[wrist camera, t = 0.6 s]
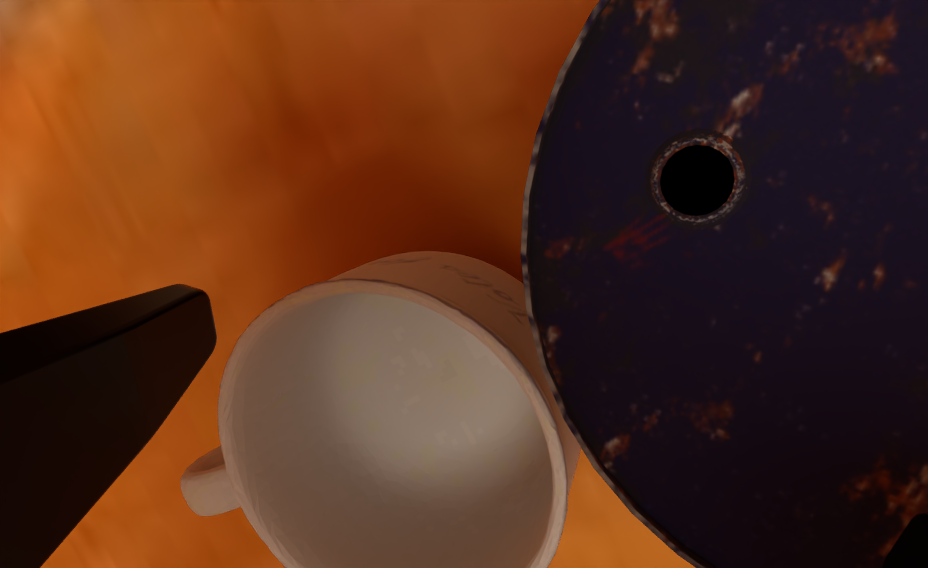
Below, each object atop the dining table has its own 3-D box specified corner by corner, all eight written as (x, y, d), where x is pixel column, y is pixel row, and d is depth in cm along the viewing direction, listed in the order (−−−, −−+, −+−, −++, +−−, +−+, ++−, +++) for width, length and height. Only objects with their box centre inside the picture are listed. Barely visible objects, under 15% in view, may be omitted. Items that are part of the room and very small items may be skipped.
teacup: (588, 219, 23) (529, 259, 16) (625, 509, 25) (588, 666, 18) (258, 259, 28) (98, 305, 21) (308, 498, 30) (177, 617, 23)
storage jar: (1072, 48, 18) (2263, -227, 4) (906, 375, 21) (1274, 849, 7) (696, -30, 20) (658, -357, 7) (596, 270, 23) (429, 467, 10)
